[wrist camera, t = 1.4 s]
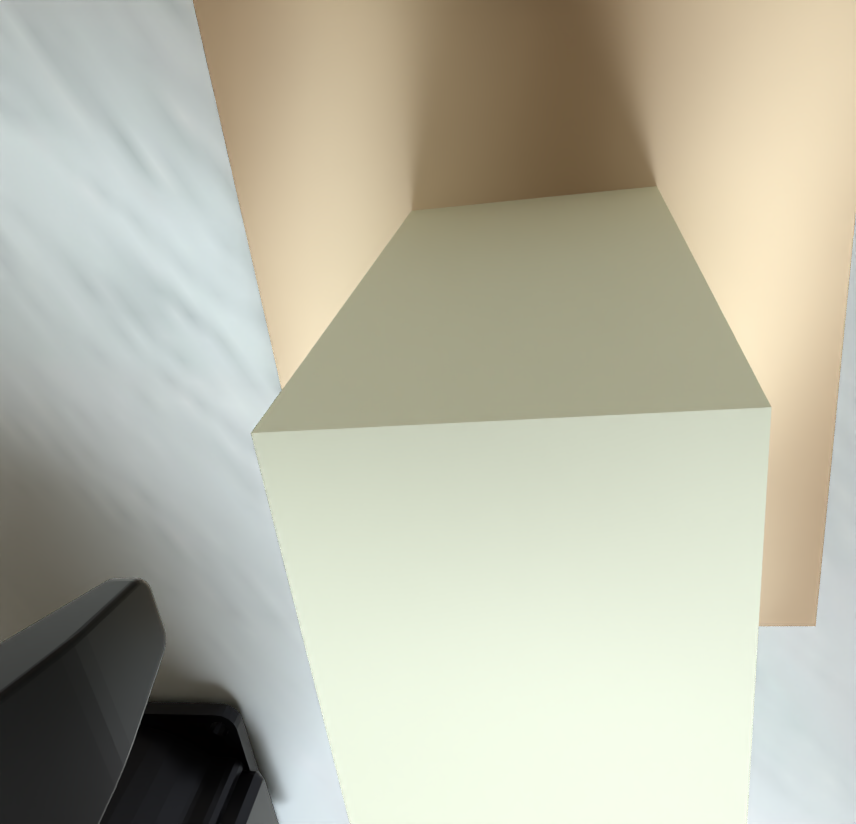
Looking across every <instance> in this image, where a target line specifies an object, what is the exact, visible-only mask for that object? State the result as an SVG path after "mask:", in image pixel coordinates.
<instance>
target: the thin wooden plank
mask: <svg viewBox="0 0 856 824" xmlns="http://www.w3.org/2000/svg"><path fill="white" fill-rule="evenodd" d="M193 4H194V8H195V12H196V17H197V21H198V26H199V30H200V34H201V39H202V43H203V47H204V52H205V56H206V61H207V65H208V69H209V74H210V78H211V82H212V87H213V91H214V96H215V100H216V104H217V109H218V113H219V117H220V122H221V126H222V131H223V135H224V139H225V144H226V148H227V152H228V157H229V161H230V166H231V170H232V174H233V179H234V183H235V187H236V192H237V196H238V200H239V205H240V209H241V214H242V218H243V222H244V227H245V231H246V235H247V240H248V244H249V249H250V253H251V257H252V262H253V266H254V270H255V275H256V279H257V284H258V288H259V292H260V297H261V301H262V305H263V310H264V314H265V319H266V323H267V327H268V332H269V336H270V340H271V345H272V349H273V354H274V358H275V362H276V367H277V371H278V375H279V380H280V384H281V388H282V389H283V388H284V387H285V385H286V384H287V382H288V381H289V380H290V378H291V377H292V376H293V374H294V373H295V371H296V370H297V369H298V367H299V366H300V364H301V363H302V362H303V360H304V359H305V358H306V356H307V355H308V353H309V352H310V351H311V349H312V348H313V346H314V345H315V344H316V342H317V341H318V340H319V338H320V337H321V335H322V334H323V333H324V331H325V330H326V328H327V327H328V326H329V324H330V323H331V322H332V320H333V319H334V317H335V316H336V315H337V313H338V312H339V310H340V309H341V308H342V306H343V305H344V304H345V302H346V301H347V299H348V298H349V297H350V295H351V294H352V292H353V291H354V290H355V288H356V287H357V286H358V284H359V283H360V281H361V280H362V279H363V277H364V276H365V274H366V273H367V272H368V270H369V269H370V268H371V266H372V265H373V263H374V262H375V261H376V259H377V258H378V256H379V255H380V254H381V252H382V251H383V250H384V248H385V247H386V245H387V244H388V243H389V241H390V240H391V238H392V237H393V236H394V234H395V233H396V232H397V230H398V229H399V227H400V226H401V225H402V223H403V222H404V220H405V219H406V218H407V216H408V215H409V214H410V212H411V211H413V210H423V209H433V208H443V207H453V206H463V205H473V204H483V203H493V202H503V201H513V200H523V199H533V198H542V197H552V196H562V195H572V194H582V193H592V192H602V191H612V190H622V189H632V188H642V187H652V186H657V187H658V189H659V191H660V193H661V195H662V197H663V199H664V201H665V203H666V205H667V207H668V209H669V211H670V212H671V214H672V216H673V218H674V220H675V222H676V224H677V226H678V228H679V230H680V232H681V234H682V236H683V238H684V239H685V241H686V243H687V245H688V247H689V249H690V251H691V253H692V255H693V257H694V259H695V261H696V263H697V265H698V266H699V268H700V270H701V272H702V274H703V276H704V278H705V280H706V282H707V284H708V286H709V288H710V290H711V292H712V293H713V295H714V297H715V299H716V301H717V303H718V305H719V307H720V309H721V311H722V313H723V315H724V317H725V319H726V320H727V322H728V324H729V326H730V328H731V330H732V332H733V334H734V336H735V338H736V340H737V342H738V344H739V346H740V347H741V349H742V351H743V353H744V355H745V357H746V359H747V361H748V363H749V365H750V367H751V369H752V371H753V373H754V374H755V376H756V378H757V380H758V382H759V384H760V386H761V388H762V390H763V392H764V394H765V396H766V398H767V400H768V401H769V403H770V405H771V424H770V441H769V458H768V475H767V492H766V509H765V526H764V543H763V560H762V577H761V594H760V611H759V626H815V625H816V615H817V605H818V594H819V584H820V574H821V564H822V553H823V543H824V533H825V522H826V512H827V502H828V492H829V481H830V471H831V461H832V451H833V440H834V430H835V420H836V410H837V399H838V389H839V379H840V368H841V358H842V348H843V338H844V327H845V317H846V307H847V297H848V286H849V276H850V266H851V256H852V245H853V235H854V225H855V214H856V0H193Z"/></svg>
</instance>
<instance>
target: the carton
mask: <svg viewBox="0 0 856 824" xmlns="http://www.w3.org/2000/svg"><path fill="white" fill-rule="evenodd" d="M770 424H771V405H770V403H769V401H768V400H767V398H766V396H765V394H764V392H763V390H762V388H761V386H760V384H759V382H758V380H757V378H756V376H755V374H754V373H753V371H752V369H751V367H750V365H749V363H748V361H747V359H746V357H745V355H744V353H743V351H742V349H741V347H740V346H739V344H738V342H737V340H736V338H735V336H734V334H733V332H732V330H731V328H730V326H729V324H728V322H727V320H726V319H725V317H724V315H723V313H722V311H721V309H720V307H719V305H718V303H717V301H716V299H715V297H714V295H713V293H712V292H711V290H710V288H709V286H708V284H707V282H706V280H705V278H704V276H703V274H702V272H701V270H700V268H699V266H698V265H697V263H696V261H695V259H694V257H693V255H692V253H691V251H690V249H689V247H688V245H687V243H686V241H685V239H684V238H683V236H682V234H681V232H680V230H679V228H678V226H677V224H676V222H675V220H674V218H673V216H672V214H671V212H670V211H669V209H668V207H667V205H666V203H665V201H664V199H663V197H662V195H661V193H660V191H659V189H658V187H657V186H652V187H642V188H632V189H622V190H612V191H602V192H592V193H582V194H572V195H562V196H552V197H542V198H533V199H523V200H513V201H503V202H493V203H483V204H473V205H463V206H453V207H443V208H433V209H423V210H413V211H411V212H410V214H409V215H408V216H407V218H406V219H405V220H404V222H403V223H402V225H401V226H400V227H399V229H398V230H397V232H396V233H395V234H394V236H393V237H392V238H391V240H390V241H389V243H388V244H387V245H386V247H385V248H384V250H383V251H382V252H381V254H380V255H379V256H378V258H377V259H376V261H375V262H374V263H373V265H372V266H371V268H370V269H369V270H368V272H367V273H366V274H365V276H364V277H363V279H362V280H361V281H360V283H359V284H358V286H357V287H356V288H355V290H354V291H353V292H352V294H351V295H350V297H349V298H348V299H347V301H346V302H345V304H344V305H343V306H342V308H341V309H340V310H339V312H338V313H337V315H336V316H335V317H334V319H333V320H332V322H331V323H330V324H329V326H328V327H327V328H326V330H325V331H324V333H323V334H322V335H321V337H320V338H319V340H318V341H317V342H316V344H315V345H314V346H313V348H312V349H311V351H310V352H309V353H308V355H307V356H306V358H305V359H304V360H303V362H302V363H301V364H300V366H299V367H298V369H297V370H296V371H295V373H294V374H293V376H292V377H291V378H290V380H289V381H288V382H287V384H286V385H285V387H284V388H283V389H282V391H281V392H280V394H279V395H278V396H277V398H276V399H275V400H274V402H273V403H272V405H271V406H270V407H269V409H268V410H267V412H266V413H265V414H264V416H263V417H262V418H261V420H260V421H259V423H258V424H257V425H256V427H255V428H254V430H253V431H252V432H251V436H252V440H253V443H254V447H255V451H256V455H257V459H258V463H259V467H260V471H261V475H262V479H263V483H264V487H265V491H266V495H267V499H268V503H269V507H270V511H271V515H272V518H273V522H274V526H275V530H276V534H277V538H278V542H279V546H280V550H281V554H282V558H283V562H284V566H285V570H286V574H287V578H288V582H289V586H290V590H291V593H292V597H293V601H294V605H295V609H296V613H297V617H298V621H299V625H300V629H301V633H302V637H303V641H304V645H305V649H306V653H307V657H308V661H309V665H310V669H311V672H312V676H313V680H314V684H315V688H316V692H317V696H318V700H319V704H320V708H321V712H322V716H323V720H324V724H325V728H326V732H327V736H328V740H329V744H330V747H331V751H332V755H333V759H334V763H335V767H336V771H337V775H338V779H339V783H340V787H341V791H342V795H343V799H344V803H345V807H346V811H347V815H348V819H349V823H350V824H747V815H748V798H749V781H750V764H751V747H752V730H753V713H754V696H755V679H756V662H757V645H758V628H759V611H760V594H761V577H762V560H763V543H764V526H765V509H766V492H767V475H768V458H769V441H770Z"/></svg>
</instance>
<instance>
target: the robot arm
mask: <svg viewBox="0 0 856 824" xmlns="http://www.w3.org/2000/svg"><path fill="white" fill-rule="evenodd" d="M165 645H166V634H165V629H164V626H163V623H162V620H161V617H160V614H159V611H158V608H157V605H156V602H155V599H154V597H153V594H152V591H151V588H150V586H149V584H148V583H147V582H146V581H145V580H143V579H141V578H114V579H110V580H108V581H106V582H104V583H102V584H101V585H99V586H97V587H95V588H94V589H92V590H90V591H89V592H87V593H85V594H84V595H82V596H80V597H78V598H77V599H75V600H73V601H72V602H70V603H68V604H67V605H65V606H63V607H61V608H60V609H58V610H56V611H55V612H53V613H51V614H50V615H48V616H46V617H45V618H43V619H41V620H39V621H38V622H36V623H34V624H33V625H31V626H29V627H28V628H26V629H24V630H22V631H21V632H19V633H17V634H16V635H14V636H12V637H11V638H9V639H7V640H5V641H4V642H2V643H0V824H278V821H277V818H276V814H275V811H274V808H273V805H272V801H271V798H270V795H269V792H268V788H267V785H266V782H265V779H264V778H263V776H262V775H261V774H260V772H259V770H258V766H257V763H256V760H255V757H254V754H253V750H252V747H251V744H250V741H249V738H248V734H247V731H246V728H245V725H244V722H243V718H242V716H241V714H240V713H239V712H238V711H237V710H236V709H235V708H233V707H231V706H229V705H226V704H217V703H158V702H147V701H148V699H149V696H150V693H151V690H152V687H153V684H154V681H155V678H156V675H157V672H158V669H159V666H160V663H161V660H162V657H163V654H164V651H165Z"/></svg>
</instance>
